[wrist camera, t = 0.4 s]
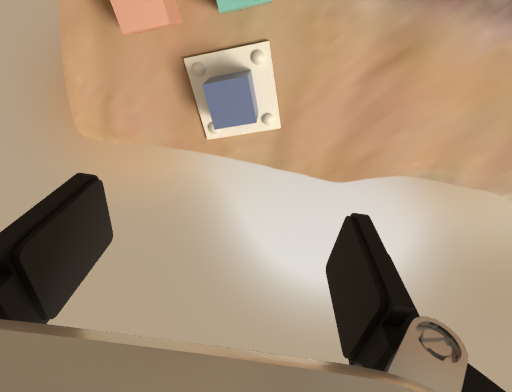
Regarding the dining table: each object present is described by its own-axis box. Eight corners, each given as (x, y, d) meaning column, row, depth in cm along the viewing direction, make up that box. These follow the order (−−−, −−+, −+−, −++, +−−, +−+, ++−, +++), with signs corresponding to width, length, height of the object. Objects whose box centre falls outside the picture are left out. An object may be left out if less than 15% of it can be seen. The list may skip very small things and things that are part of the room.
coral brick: (121, -23, 33) (98, -29, 29) (166, -35, 32) (149, -43, 28) (140, 32, 37) (123, 34, 32) (182, 23, 36) (169, 24, 32)
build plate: (184, 58, 38) (171, 63, 33) (268, 40, 36) (267, 43, 31) (208, 138, 44) (200, 152, 40) (280, 127, 42) (281, 140, 38)
